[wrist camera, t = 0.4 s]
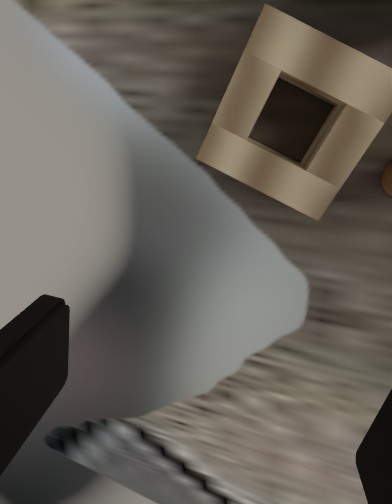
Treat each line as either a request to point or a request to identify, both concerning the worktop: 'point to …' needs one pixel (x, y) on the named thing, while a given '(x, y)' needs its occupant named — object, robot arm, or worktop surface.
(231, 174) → the beige square ring
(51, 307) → the robot arm
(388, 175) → the dowel
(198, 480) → the worktop surface
